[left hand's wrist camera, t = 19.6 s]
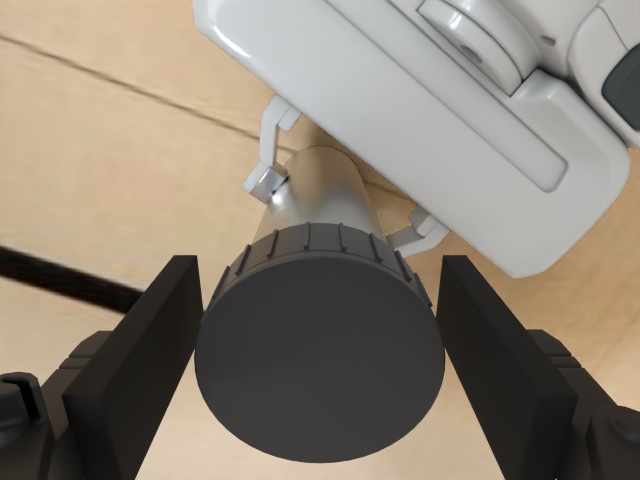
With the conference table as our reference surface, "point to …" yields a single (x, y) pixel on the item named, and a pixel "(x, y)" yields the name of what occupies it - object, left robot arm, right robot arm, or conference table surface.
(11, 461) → the left robot arm
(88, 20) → the conference table surface
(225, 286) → the lid
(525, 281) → the conference table surface
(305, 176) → the jar
